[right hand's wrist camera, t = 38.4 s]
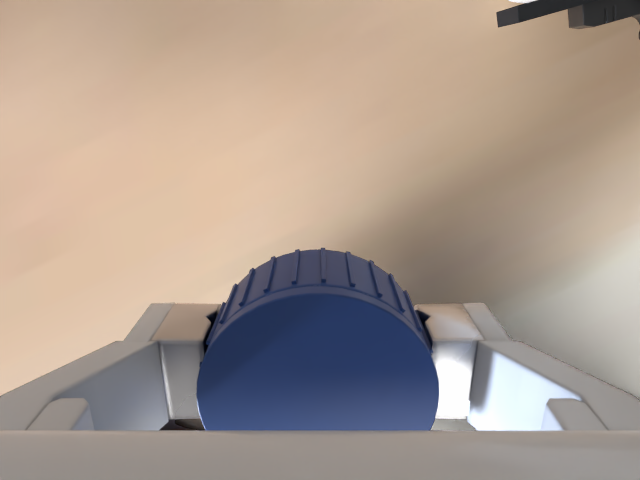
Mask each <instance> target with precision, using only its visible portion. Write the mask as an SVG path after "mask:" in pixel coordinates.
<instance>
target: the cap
mask: <svg viewBox="0 0 640 480" xmlns="http://www.w3.org/2000/svg"><path fill="white" fill-rule="evenodd" d="M206 344H207V345H209V346H208V348H207V351H206V353H205V356H204V358H203V361H202V362H200V365H199V367H200V369H199V374H198V379H197V391H196V397H197V405H198V410H199V414H200V417H201V421H202V423H203V426H204V428H205V430H430V429H431V427H432V425H433V423H434V420H435V417H436V413H437V409H438V403H439V380H438V375H437V370H436V367H435V364H434V362H433V359H432V357H431V354H430V353H433V350H432V347H431V345H430V342H429V340H428V337H427V335H426V332H425V330H424V327H423V325H422V323H421V320H420V318H419V315H418V313H417V310H414V307H413V305H412V302H411V300H410V297H409V295H408V292H407V291H403V290H402V289H401V287H400V286H399V285H398V284H397V282H396V281H395V280H394V277H393V275H392V274H389V275H388V274H387V273H386V272H384V271H383V270H382V269H380V268H379V267H377V266H376V265H374V262H373V261H371V260H370V261H369V262H368V261H366V260H364V259H362V258H360V257H357V256H354V255H351V253H350V252H346V253H343V252H339V251H330V250H325V248H321V250H306V251H300V250H299V249H298V250H295V252H293V253H289V254H285V255H282V256H279V257H277V258H275V256H274V257H271V260H270V261H268V262H266V263H264V264H262V265H261V266H259V267H257V268H256V269H254V268H252V269H251V270H250V272H249V274H248V275H247V276H246V277H245V278H244V279H243V280H242V281H241V282H240V283H239V284H238V285H237V284H235V285H234V286H233V288H232V291H231V293H230V296H229V298H228V300H227V302H226V303H224V302H223V303H222V306H221V308H220V310H219V313H218V315H217V318H216V320H215V322H214V325H213V327H212V330H211V332H210V335H209V337H208V339H207V342H206Z"/></svg>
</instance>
